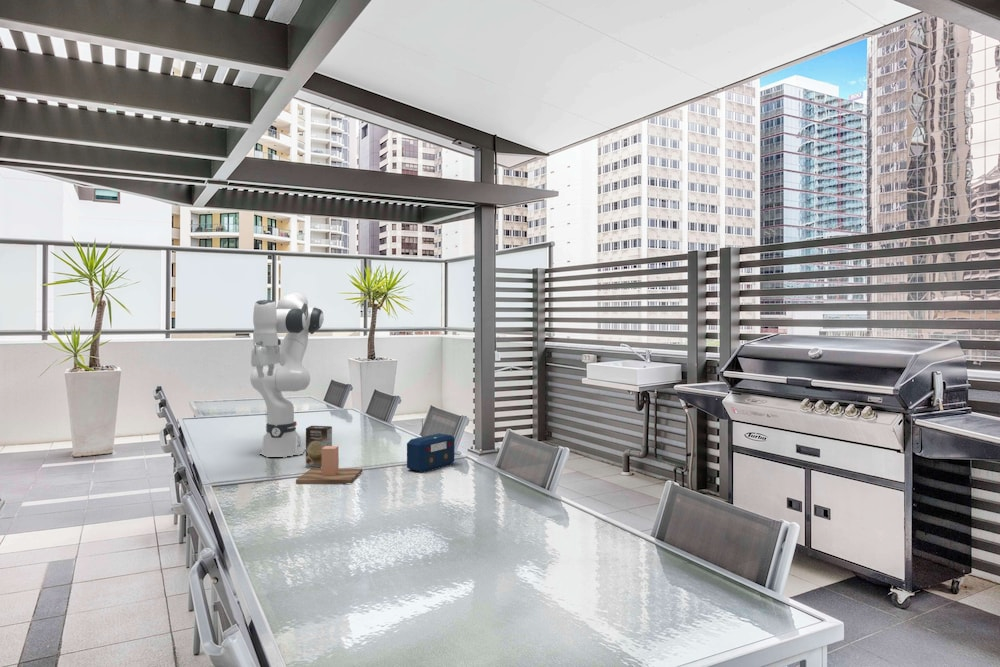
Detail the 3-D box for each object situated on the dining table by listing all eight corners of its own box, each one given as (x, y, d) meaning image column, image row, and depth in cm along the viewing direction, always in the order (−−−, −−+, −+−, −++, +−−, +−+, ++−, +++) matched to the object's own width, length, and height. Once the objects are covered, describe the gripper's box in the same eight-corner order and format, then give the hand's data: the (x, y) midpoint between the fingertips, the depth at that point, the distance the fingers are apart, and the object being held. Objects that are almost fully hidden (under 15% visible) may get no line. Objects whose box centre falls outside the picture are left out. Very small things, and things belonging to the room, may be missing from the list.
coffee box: (304, 467, 257) (304, 428, 257) (311, 464, 264) (310, 425, 263) (326, 468, 256) (326, 428, 256) (332, 464, 263) (332, 425, 262)
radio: (421, 473, 247) (421, 422, 247) (405, 470, 253) (405, 420, 252) (457, 464, 264) (456, 415, 264) (441, 461, 269) (441, 413, 269)
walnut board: (311, 472, 250) (311, 468, 250) (362, 472, 250) (362, 468, 250) (295, 483, 232) (295, 479, 232) (350, 484, 232) (350, 479, 232)
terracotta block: (325, 472, 243) (325, 446, 243) (338, 472, 243) (338, 446, 243) (321, 475, 238) (321, 448, 238) (335, 475, 238) (334, 448, 238)
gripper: (263, 342, 240) (263, 379, 240) (282, 340, 260) (282, 374, 260) (246, 342, 240) (246, 379, 240) (267, 340, 260) (267, 374, 260)
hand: (265, 376), depth 250 cm, fingers open, 8 cm apart
